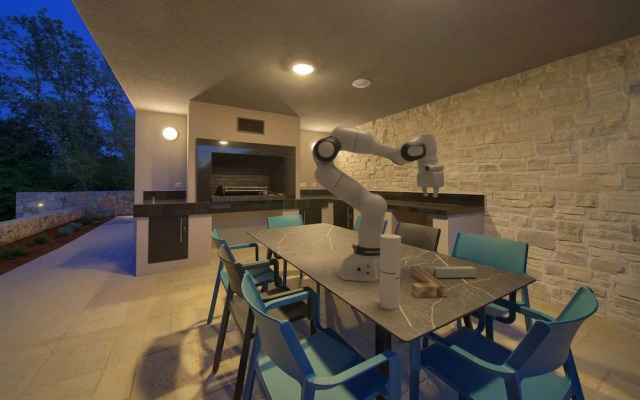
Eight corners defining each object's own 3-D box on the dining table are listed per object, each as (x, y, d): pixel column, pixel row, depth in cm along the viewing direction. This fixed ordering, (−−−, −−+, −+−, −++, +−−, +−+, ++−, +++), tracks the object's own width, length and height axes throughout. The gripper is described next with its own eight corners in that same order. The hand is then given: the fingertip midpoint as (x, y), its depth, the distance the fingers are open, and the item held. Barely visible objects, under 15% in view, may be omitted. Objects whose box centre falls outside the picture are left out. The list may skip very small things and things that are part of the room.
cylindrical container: (376, 300, 95) (377, 234, 93) (395, 299, 96) (396, 233, 94) (382, 309, 88) (384, 238, 86) (402, 308, 89) (404, 238, 87)
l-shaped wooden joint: (415, 297, 97) (416, 287, 97) (394, 274, 121) (395, 266, 121) (448, 296, 98) (448, 286, 98) (421, 274, 122) (421, 266, 122)
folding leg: (427, 278, 116) (427, 267, 116) (424, 275, 120) (424, 265, 119) (476, 277, 117) (476, 267, 117) (471, 275, 121) (471, 264, 120)
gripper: (412, 169, 130) (414, 196, 131) (431, 167, 110) (434, 198, 111) (424, 168, 130) (426, 194, 131) (446, 165, 110) (448, 197, 111)
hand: (430, 196), depth 121 cm, fingers open, 8 cm apart
